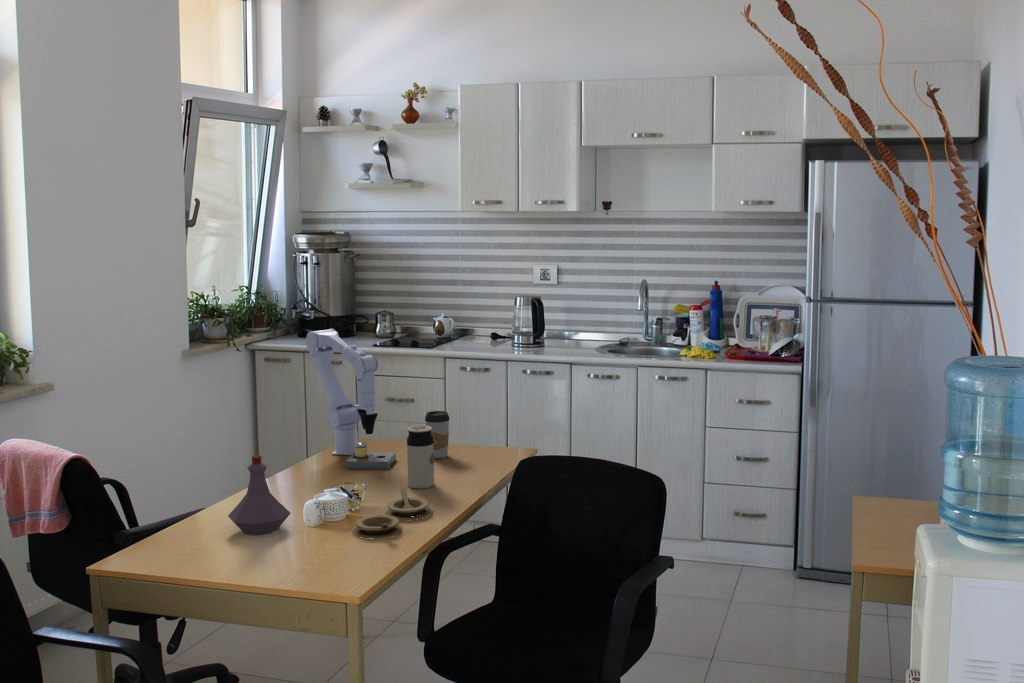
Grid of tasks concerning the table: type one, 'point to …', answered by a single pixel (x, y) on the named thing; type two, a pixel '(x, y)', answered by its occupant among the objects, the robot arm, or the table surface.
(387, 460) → the block
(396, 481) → the table surface
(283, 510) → the flask
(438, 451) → the coffee cup
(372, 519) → the tableware set
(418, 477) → the travel mug
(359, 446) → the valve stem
